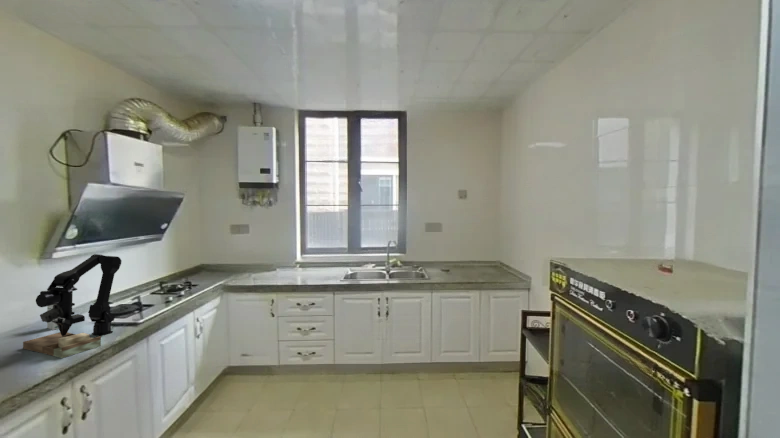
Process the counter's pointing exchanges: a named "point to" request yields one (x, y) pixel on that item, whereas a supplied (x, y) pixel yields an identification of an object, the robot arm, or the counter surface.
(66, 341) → the maple slab
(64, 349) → the trap deck
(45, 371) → the counter surface
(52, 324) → the syrup box
